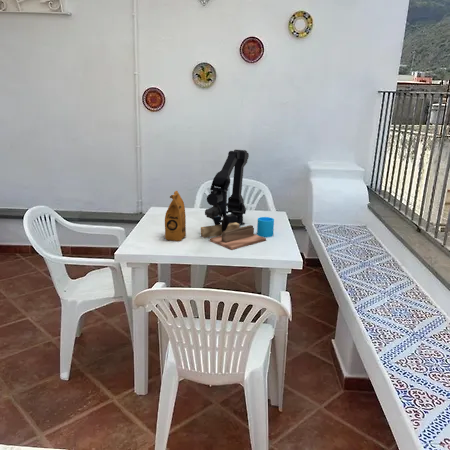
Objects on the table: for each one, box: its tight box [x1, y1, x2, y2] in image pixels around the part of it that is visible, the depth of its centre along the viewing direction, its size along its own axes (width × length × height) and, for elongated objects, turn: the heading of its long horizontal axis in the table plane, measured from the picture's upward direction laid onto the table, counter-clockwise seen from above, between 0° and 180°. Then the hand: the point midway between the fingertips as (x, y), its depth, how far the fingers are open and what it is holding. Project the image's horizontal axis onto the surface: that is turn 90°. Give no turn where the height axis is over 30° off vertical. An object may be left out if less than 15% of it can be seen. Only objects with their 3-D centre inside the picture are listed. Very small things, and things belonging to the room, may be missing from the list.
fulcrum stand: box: [209, 224, 267, 251], centre depth 211 cm, size 16×22×6 cm
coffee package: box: [164, 190, 187, 242], centre depth 211 cm, size 10×12×22 cm
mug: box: [256, 216, 275, 238], centre depth 222 cm, size 12×8×8 cm
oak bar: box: [200, 223, 241, 239], centre depth 220 cm, size 20×4×4 cm, turn 118°
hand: (220, 231), depth 220 cm, fingers closed on oak bar, 4 cm apart
